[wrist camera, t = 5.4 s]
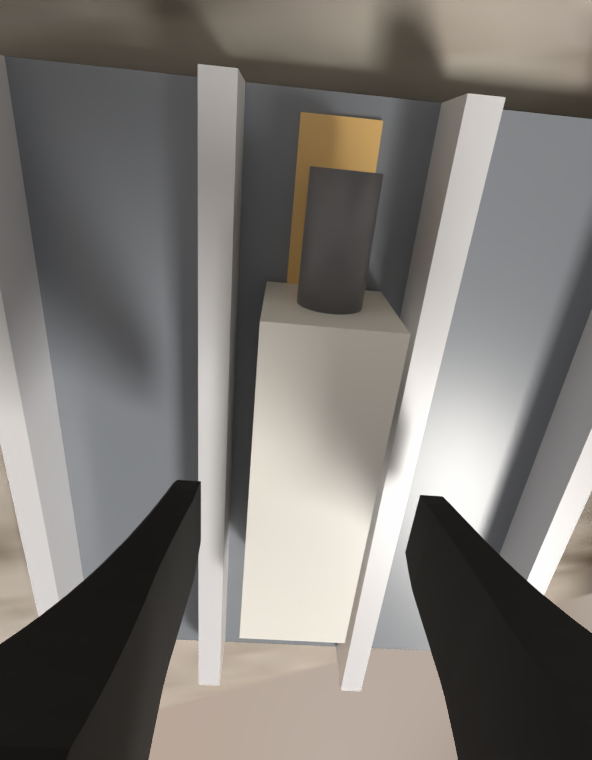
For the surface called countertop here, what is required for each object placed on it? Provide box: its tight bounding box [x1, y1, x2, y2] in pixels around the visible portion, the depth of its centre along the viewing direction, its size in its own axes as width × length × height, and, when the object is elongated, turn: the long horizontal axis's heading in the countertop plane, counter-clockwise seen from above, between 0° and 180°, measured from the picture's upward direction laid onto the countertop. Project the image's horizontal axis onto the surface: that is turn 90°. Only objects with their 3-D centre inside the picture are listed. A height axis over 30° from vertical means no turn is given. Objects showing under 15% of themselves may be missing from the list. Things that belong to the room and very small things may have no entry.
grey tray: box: [0, 55, 592, 691], centre depth 15 cm, size 20×18×3 cm
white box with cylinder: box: [239, 166, 411, 643], centre depth 13 cm, size 13×3×4 cm, turn 175°
